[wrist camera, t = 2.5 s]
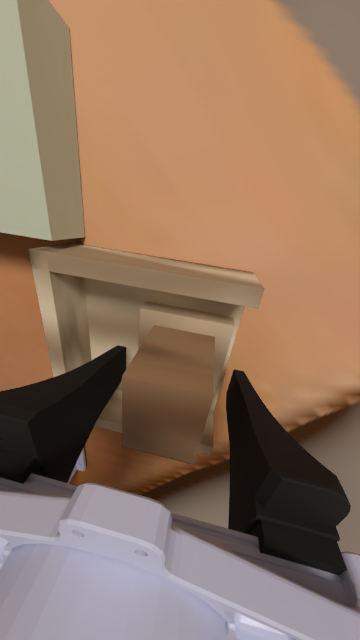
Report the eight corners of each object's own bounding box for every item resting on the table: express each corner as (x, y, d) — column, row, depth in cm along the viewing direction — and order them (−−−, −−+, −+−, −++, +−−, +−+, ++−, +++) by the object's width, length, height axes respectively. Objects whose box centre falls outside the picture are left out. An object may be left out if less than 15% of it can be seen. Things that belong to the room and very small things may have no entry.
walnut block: (201, 393, 15) (194, 464, 11) (149, 382, 16) (122, 446, 11) (214, 336, 13) (213, 396, 8) (154, 324, 13) (122, 376, 9)
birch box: (211, 415, 18) (210, 455, 15) (86, 386, 19) (61, 417, 16) (252, 272, 13) (264, 288, 9) (71, 242, 14) (28, 248, 11)
